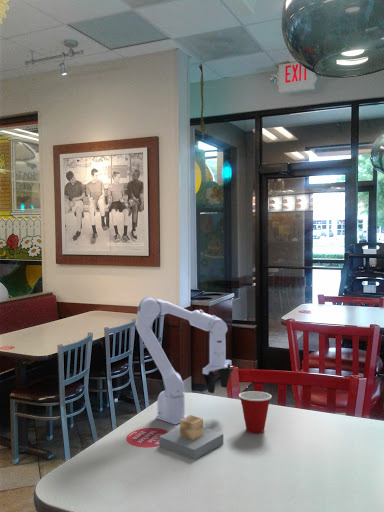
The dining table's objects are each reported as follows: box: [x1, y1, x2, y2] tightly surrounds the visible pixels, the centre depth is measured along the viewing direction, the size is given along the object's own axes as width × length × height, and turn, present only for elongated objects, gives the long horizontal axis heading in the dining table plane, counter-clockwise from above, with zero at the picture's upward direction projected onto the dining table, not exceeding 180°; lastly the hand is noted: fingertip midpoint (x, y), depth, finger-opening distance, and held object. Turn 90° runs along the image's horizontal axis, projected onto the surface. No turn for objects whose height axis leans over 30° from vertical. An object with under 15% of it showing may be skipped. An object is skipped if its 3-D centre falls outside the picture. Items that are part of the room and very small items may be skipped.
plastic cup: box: [238, 390, 273, 434], centre depth 157 cm, size 11×11×12 cm
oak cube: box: [179, 414, 204, 440], centre depth 145 cm, size 5×5×5 cm
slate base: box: [158, 426, 224, 461], centre depth 146 cm, size 14×14×3 cm
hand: (217, 389), depth 169 cm, fingers open, 7 cm apart
